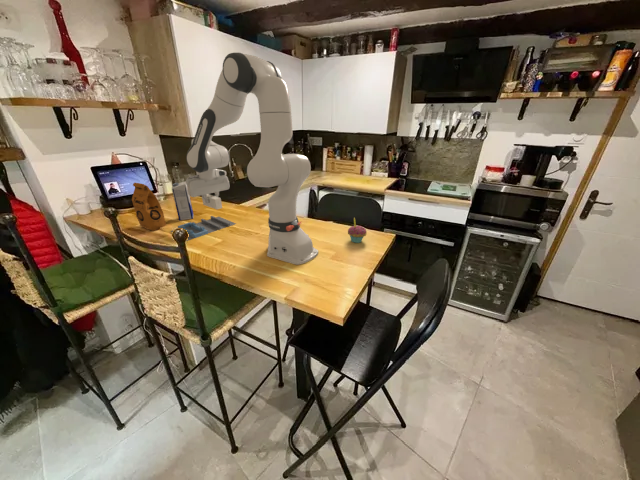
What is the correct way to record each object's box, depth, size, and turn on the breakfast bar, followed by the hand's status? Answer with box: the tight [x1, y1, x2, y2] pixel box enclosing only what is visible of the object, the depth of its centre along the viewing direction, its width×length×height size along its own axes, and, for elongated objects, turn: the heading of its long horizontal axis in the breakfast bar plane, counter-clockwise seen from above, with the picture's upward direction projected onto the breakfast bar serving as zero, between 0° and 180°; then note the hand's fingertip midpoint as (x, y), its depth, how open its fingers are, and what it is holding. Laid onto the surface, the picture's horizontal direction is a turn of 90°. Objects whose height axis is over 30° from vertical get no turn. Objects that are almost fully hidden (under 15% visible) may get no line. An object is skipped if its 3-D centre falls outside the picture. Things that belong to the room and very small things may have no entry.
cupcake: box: [347, 217, 367, 244], centre depth 118 cm, size 9×8×12 cm
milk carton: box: [171, 180, 194, 221], centre depth 137 cm, size 7×7×20 cm
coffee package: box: [131, 182, 167, 232], centre depth 127 cm, size 10×12×22 cm
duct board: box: [170, 215, 237, 242], centre depth 129 cm, size 16×26×3 cm, turn 142°
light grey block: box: [201, 194, 223, 210], centre depth 128 cm, size 12×3×5 cm, turn 52°
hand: (211, 201), depth 128 cm, fingers closed on light grey block, 3 cm apart
